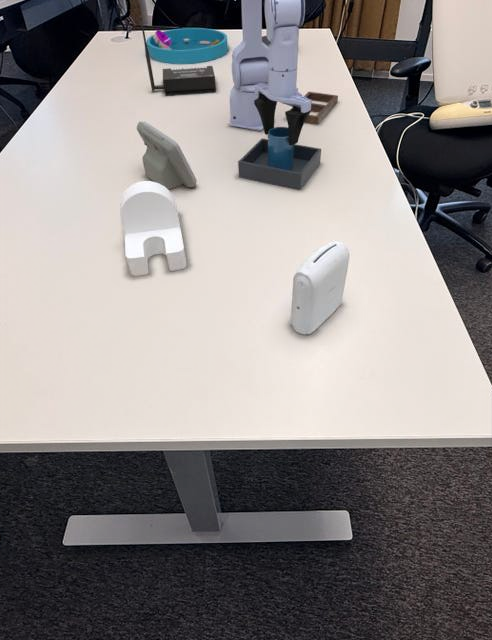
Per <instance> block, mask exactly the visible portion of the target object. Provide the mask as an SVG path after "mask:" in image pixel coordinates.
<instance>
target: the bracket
mask: <svg viewBox="0 0 492 640" xmlns="http://www.w3.org/2000/svg"><path fill="white" fill-rule="evenodd" d="M119 207H120V208H119V213H120V216H119V217H120V222H121V226H122V231H123V233H124V252H125V258H126V262H127V265H128V269H129V272H130V274H131V275H132V276H135V277H137V276H139V277H140V276H145V275H149V272H150V271H149V259H150V258H151V257H153V256H154V255H164V256H166V259H167V264H168V269H169V272H173V271H179V270H184V269H185V268H187V265H188V264H187V259H186V252H185V246H184V241H183V235H182V230H181V229H182V228H181V223H180V218H179V211H178V207H177V201H176V198H175V196H174V195H173V194H172V192H171V191H170V189H169V190H168V189H167V188H166V187H164V186H163V185H161V184H159V183H156V182H153V181H152V180H142V181H138V182H134V183H133V184H131V185H130V186H128V187H127V188H126V189H125V190H124V191H123V193H122V195H121V197H120V203H119Z"/></svg>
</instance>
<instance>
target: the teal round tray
mask: <svg viewBox="0 0 492 640" xmlns="http://www.w3.org/2000/svg"><path fill="white" fill-rule="evenodd" d="M146 43H147V48H148V52H149V56H150V59H153V60H154V61H157V62H161V63H167V64H177V65H178V64H179V65H182V64H183V65H185V64H187V65H188V64H198V63H205V62H209V61H214V60H217V59H220V58H222V57H224V56H225V55H226V54H227V53H228V51H229V46H228V45H229V44H228V35H227V34H226V33H225V32H223V31H220V30H218V29H214V28H205V27H204V28H203V27H183V28H174V29H168V30H164V31H162V30H159V29H157V30H156V31H155V33H154V34H151V35H150V36H149V37H148V38H146Z"/></svg>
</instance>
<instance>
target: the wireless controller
mask: <svg viewBox="0 0 492 640" xmlns="http://www.w3.org/2000/svg"><path fill="white" fill-rule="evenodd" d="M141 33H142V38H143V43H144V52H145V59H146V65H147V66H146V67H147V72H148V77H149V82H150V88H151V91H152V92H155V90H157V91H158V90H163V91H164V95H165V97H168V96H169V97H171V96H183V95H184V96H186V95H199V94H211V93H212V94H213V93H217V87H216V86H217V85H216V76H215V72H214V71H215V70H214V67H213V65H207V66H206V67H199V66H198V67H194V68H183V67H182V68H181V69H180V67H179V69H177V68H176V69H172V68H169V67H168V68H162V83H163V84H158V85H155V79H154V73H153V68H152V62H151V57H150V56H149V52H148V48H147V43H146V41H147V38H146V32H145V28H144V24H141Z"/></svg>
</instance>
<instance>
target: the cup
mask: <svg viewBox="0 0 492 640" xmlns="http://www.w3.org/2000/svg"><path fill="white" fill-rule="evenodd" d="M288 133H289V131H288V126H274V128H272V129H270V130H269V131H268V135H267V139H268V166H269V167H274V168H279V169H284V170H289V171H291V170H292V169H293V153H294V145H292V146H291V145H289V139H288Z"/></svg>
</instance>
